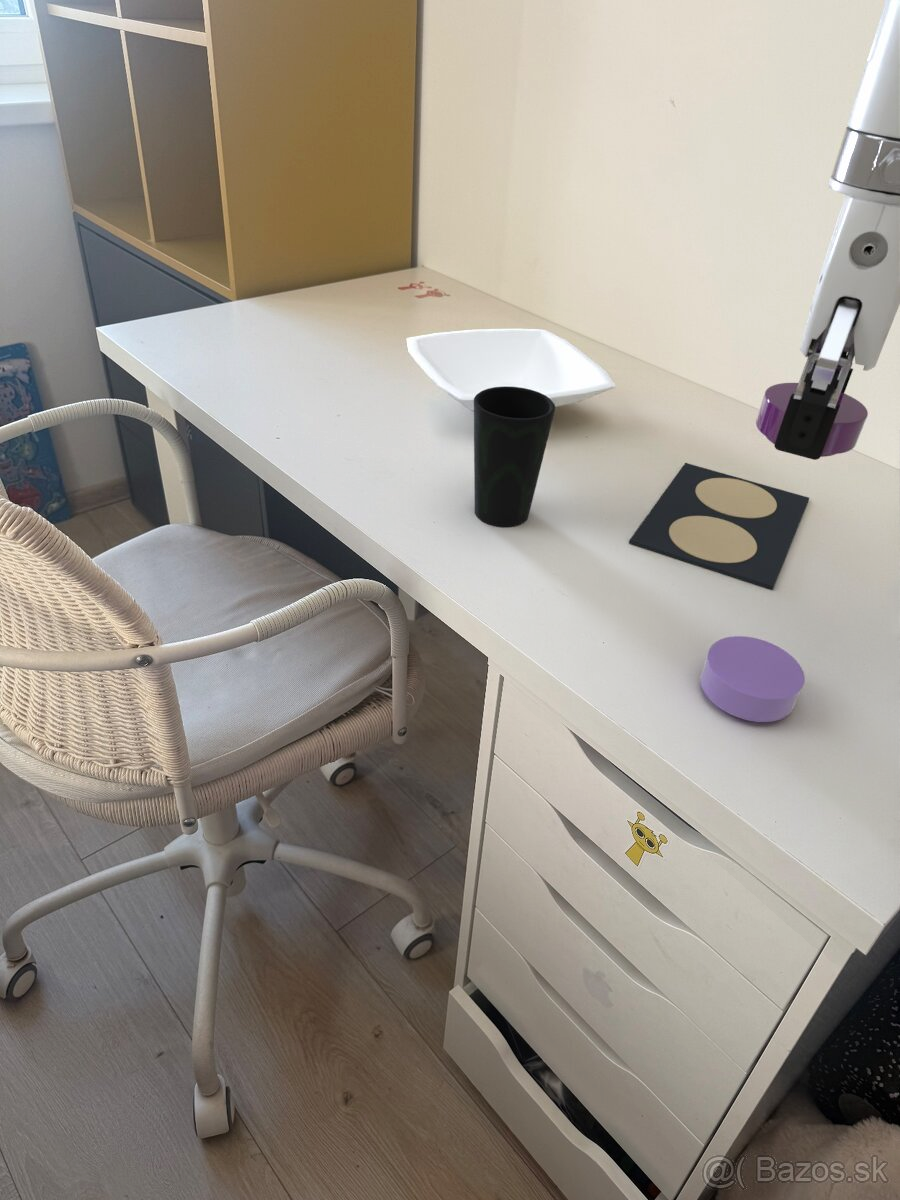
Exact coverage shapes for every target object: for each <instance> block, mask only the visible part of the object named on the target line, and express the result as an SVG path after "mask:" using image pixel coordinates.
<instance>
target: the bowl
mask: <svg viewBox="0 0 900 1200" xmlns="http://www.w3.org/2000/svg"><path fill="white" fill-rule="evenodd" d="M406 343H407V344H406V345H407V351H408V353H409V355H410V356H411V357H412V358H413V360H414V361H415V362H416V364H418V366H419V367H420V368H421V369H422V371H423V372H424V373H425V374H426V375H427V376H428V377H429V378H430V380H431V381H432V382H433V383H434V384H435V385H436V386H437V387H438V388H439V389H440V390H442V391H443V392H444V393H445V394H447V395H448V396H450V397H451V398H452V399H454V401H456V402H457V403H459V404H461V405H462V406H464V407H465V408H467V410H470V411H473V412H474V398H475V396H476V395H477V394H478V393H480V392H481V391H483V390H486V389H489V388H494V387H504V386H505V387H520V388H526V389H530V390H533V391H537V392H539V393H541V394H543V395H546V396H547V397H548V398H550V399H551V400H552V402H553V403H554V404H555V408H556V407H562V406H567V405H570V404H575V403H579V402H582V401H585V400H587V399H589V398H593V397H595V396H598V395H600V394H603V393H605V392H608V391H610V390H613V389H615V388H616V384H615V382H614V380H613V379H612V378H611V376H610V375H609V373H608V371H607V370H605V369H604V368H603V367H601V366H600V365H599V364H598V363H597V362H596V361H594V360H593V359H591V358H590V357H589V356H588V355H586V354H585V353H584V352H583V351H581V350H580V349H579V348H577V347H576V346H575V345H574V344H572V343H570V342H569V341H568V340H567V339H565V338H563V337H560V336H558V335H557V334H555V333H553V332H550V331H549V330H546V329H538V328H484V329H483V328H482V329H481V328H480V329H466V330H465V329H464V330H454V331H444V332H434V333H428V334H423V335H416V336H409V337H407V338H406Z"/></svg>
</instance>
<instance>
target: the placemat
mask: <svg viewBox="0 0 900 1200" xmlns="http://www.w3.org/2000/svg"><path fill="white" fill-rule="evenodd" d="M809 501H810V497H808V496H805V495H801V494H797V493H794V492H790V491H788V490H783V489H780V488H777V487H773V486H769V485H766V484H763V483H759V482H755V481H751V480H748V479H745V478H741V477H737V476H734V475H731V474H727V473H723V472H720V471H717V470H712V469H709V468H707V467H702V466H699V465H695V464H691V463H688V462H685V463H684V464H683V465H682V467H681V468H680V469H679V471H678V472H677V473H676V475H675V477H674V478H673V479H672V480H671V481H670V483H669V484H668V486H667V487H666V489H665V490H664V492H662V494H661V496H659V498H658V500H657V501H656V503H655V504H654V505H653V506H652V508H651V510H650V511H649V512H648V513H647V515H646V517H644V519H643V520H642V522H641V523H640V525H639V526H638V528H637V529H636V530H635V532H634V533H633V534H632V536H631V537H630V539H629V540H628V544H629V545H633V546H635V547H639V548H643V549H645V550H648V551H651V552H654V553H658V554H660V555H664V556H667V557H670V558H673V559H676V560H679V561H683V562H685V563H689V564H692V565H694V566H698V567H700V568H703V569H707V570H710V571H713V572H716V573H719V574H722V575H725V576H729V577H732V578H734V579H738V580H741V581H744V582H747V583H750V584H753V585H756V586H759V587H762V588H765V589H769V590H772V591H773V590H774V587H775V584H776V582H777V580H778V578H779V575H780V573H781V570H782V568H783V565H784V563H785V560H786V557H787V556H788V553H789V551H790V548H791V545H792V543H793V540H794V539H795V536H796V532H797V530H798V528H799V525H800V523H801V520H802V518H803V515H804V513H805V510H806V508H807V506H808V503H809Z"/></svg>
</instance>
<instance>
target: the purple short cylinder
mask: <svg viewBox="0 0 900 1200" xmlns="http://www.w3.org/2000/svg"><path fill="white" fill-rule="evenodd" d="M798 383H799V382H783V383H782V382H781V383H777V384H773V385H771V386H769V387H768V388H766V390H765V391H764V394H763V398H762V401H761V403H760V407H759V410H758V413H757V417H756V419H755V426H756V428H757V429H758V432H760V434H762V435H763V436H765V437H766V439H767V440H768V441H769V442H770V443H772V444H773V445H775V441H776V438H777V435H778V432H779V429H780V426H781V423H782V420H783V418H784V415H785V412H786V409H787V406H788V403H789V400H790V397H791V394H795V392H796V389H797V386H798ZM832 392H833V391H832ZM831 395H832V393H831ZM828 402H829V401H828ZM837 405H840V407H839V410H838V413H837V415H836V418H835V421H834V423H833V426H832V429H831V431H830V434H829V437H828V439H827V442H826V444H825V447H824V450H823V452H822V455H821V457H820V458H822V457H824V458H825V457H832V456H836V455H840V454H845V453H848V452H850V451H852V450H854V448H855V447H856V446H857V443H858V441H859V438H860V435H861V433H862V431H863V428H864V426H865V423H866V421H867V418H868V415H869V412H868V408H866V406H865V405H864V403H862V402H861V401H859V400H858V399H856V398H854V397H852V396H851V395H849V394H846V393H845V392H844V393H842V392H841V393H840V396H839V399H838V402H837Z"/></svg>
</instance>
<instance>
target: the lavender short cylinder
mask: <svg viewBox="0 0 900 1200" xmlns="http://www.w3.org/2000/svg"><path fill="white" fill-rule="evenodd" d="M707 651H708V652H707V654H706V657H705V661H704V663H703V666H702V669H701V671H700V676H699V683H700V687H701V689H702V691H703V693H704V695H705V696H706V698H708V700H709V701H710V702H711V703H713V704H714V705H715V706H716V707H717V708H719V709H721V710H722V711H724V712H725V713H726V714H729V715H731V716H733V717H736V718H738V719H742V720H746V721H749V722H756V723H771V722H777V721H780V720H783V719H784V718H786V717H787V716H789V715H790V714H791V713H792V711H793V710H794V708H795V706H796V703H797V702H798V699H799V697H800V694H801V692H802V689H803V687H804V685H805V680H806V679H805V673H804V669H803V668H802V666H801V665H800V663H799V662H798V661H797V660H796V658H795V657H794V656H792V655H791V654H790V653H789V652H788V651H786V650H785V649H783V648H781V647H780V646H778V645H776V644H774V643H772V642H769V641H767V640H763V639H761V638H756V637H752V636H743V635H735V636H728V637H724V638H721V639H718V640H717V641H715V642H714V643H712V645H711V646H710V647H709V649H708V650H707Z"/></svg>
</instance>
